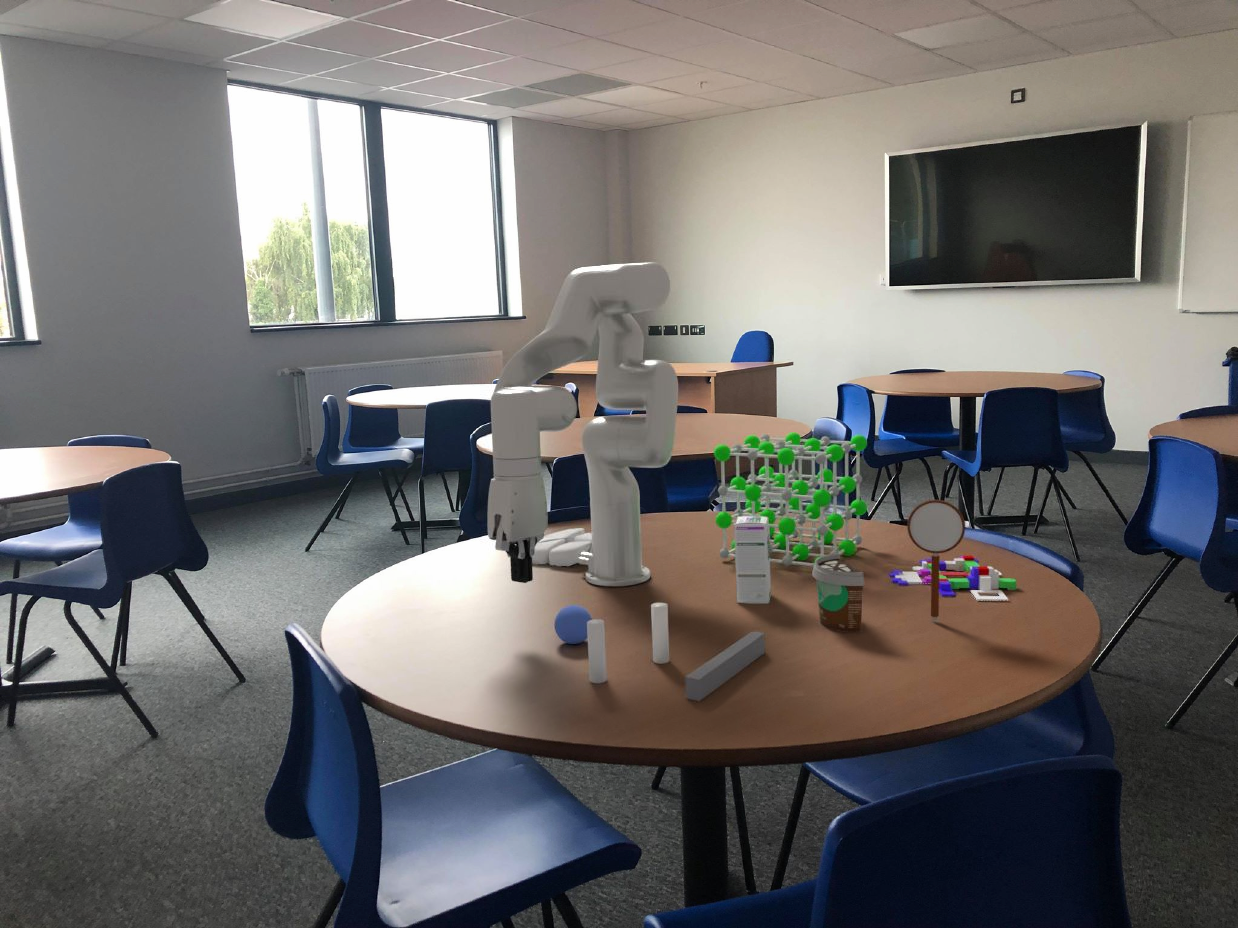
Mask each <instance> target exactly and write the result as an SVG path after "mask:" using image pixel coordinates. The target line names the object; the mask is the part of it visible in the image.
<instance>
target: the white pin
mask: <svg viewBox="0 0 1238 928" xmlns="http://www.w3.org/2000/svg"><path fill="white" fill-rule="evenodd" d="M668 608H669V607H668V603H665V602H654V603H651V604H650V609H651V610H650V611H651V612H650V613H651V614H650V615H651V637H652V638H651V639H652V661H653V663H655V664H661V665H663V664H668V663H669V662H670V645H669V644H670V643H669V637H670V636H669V616H668V615H669V611H668Z"/></svg>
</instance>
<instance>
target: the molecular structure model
mask: <svg viewBox="0 0 1238 928" xmlns="http://www.w3.org/2000/svg"><path fill="white" fill-rule="evenodd" d="M760 436H761V437H760V438H759V437H758V436H756V435H754V434H753V435H752V434H751V435H748V436H746V437H745V439H744V441H743V442H744V443H743V444H744V445H741V444H739V443H734V444H733V445H732V448H731V449H730V447H729V446H728V445H726V444H719V445H717V446H716V447H715V449H714V450H713V456H714V458H715V459H716V460H717V461H719V462H720V469H721V471H720V473H721V474H720V475H721V476H720V477H721V485H720V486H719V487H718V489H717V492H718V494H719V495H720V496H721V503H722V504H721V505H722V507H721V510H722V511H720V512H719V513H718V514H717V515H716V516H715V524H716V526H717V527H718V528H721V529H722V543H723V544H722V545H723V547H722V548H721V549H720V550H719V552H718V553H719V557H720V558H721V559H727V558H729V557H730V558H735V538H734V539H733V541H732V542H731V549H730V550H729V549H727V528H730V527H731V525H732V524H735V521H736V520H733V519H737V517H741V516H766V517H768V521H769V549H770V554H771V553H780V554H785V555H784V556H783V557H782V559H777V558H770V563H772V562H773V563H781V564H783V565H784V566H786V567H789V566H791V565H799V566H806V567H814V564H815V563H816V560H817V559H818V558H820V557H823V556H827V555H832V554H840V555H843V556H845V557H851V556H852V555H854V554H855V552H856V550H857V546H858V545H861V543H862V542H863V538H862V536H861V533H860V529H861V528H860V525H861V523H860V522H861V519H860V518H861V516H863V515H864V514H866V512H867V509H868V507H867V506H868V505H867V503H866V502H865V501H864V500H863V499H861V497H860V496H861V493H860V492H861V491H860V490H861V489H860V487H861V486H860V485H861V483H862V482H863V477H862V475H861V474H860V473H861V471H860V470H861V468H860V465H861V464H860V462H861V461H860V458H861V457H860V452H861V451H864V450H865V449H866V448H867V446H868V440H867V438H866V437H865V436H864V435H861V434H856V435H854V436H853V437H852V438H850V441H849V440H831V439H830V437H828V436H827V435H826V436H825V435H824V436H822V437H821V439H818V438H815V437H811V438H807V439H806V438H805V439H804V438H801V436H800V434H799V433H797V432H793V431H792V432H790V433H788V434H787V435H786V436H785V438H780V437H779V438H775V437H770V435H769V434H767V433H764V434H762V435H760ZM774 441H775V443H772V442H774ZM802 443H804V444H802ZM801 444H802V445H801ZM830 444H831V445H830ZM839 444H840V445H839ZM851 449H852V450H853V451H856V455H855V456H856V459H855V460H856V473H855V474H854V475H853V476H849V452H850V451H851ZM821 450H823V451H821ZM742 451H743V453H742ZM744 452H747V453H744ZM775 453H777V454H775ZM804 455H811V456H804ZM731 456H732V457H735V468H736V471H735V475H736V477H734V478H732V479H731V481H730V486H729V487H727V486H726V483H725V480H726V477H725V476H726V475H725V462H726V461H728V460H729V459H730V457H731ZM740 457H747V458H748V460H750V474H749V475H748V477H747V480H746V479H745V478H744V477H742V476H740ZM758 458H764V465H763V466H762V467H761V468H760V469H759V471H758V475H756V474H755V460H757V459H758ZM770 458H771V459H777V461H778V463H779V465H778V467H779V468H778V469H779V470H778V471H779V472H775V470H774V468H773V467H772V466H769V463H770V462H769V461H770V460H769V459H770ZM843 458H844V476H837V462H839V461H841V460H842V459H843ZM796 460H798V471H797V470H796ZM803 460H807V461H811V474H803ZM828 460H829V461H830V462H832V470H831V469H828ZM816 463H817V464H818V465H819V472H818V473H817V475H816V465H815V464H816ZM790 465H791V470H789V466H790ZM783 466H784V473H783ZM797 478H798V480H797ZM803 478H805V479H806V478H809V480H803ZM837 480H839V481H838V482H837ZM757 481H764V483H762V485H758V484H755V483H757ZM770 482H772V483H770ZM749 483H750V484H749ZM790 484H791V487H789V485H790ZM818 486H819V489H816V488H817V487H818ZM828 486H830V487H829V488H828ZM855 489H856V499H855V500H853V501H852V502H851V503H850V505H849V494H850V493H852V492H854V490H855ZM772 490H774V491H779V493H778V492H771V491H772ZM840 492H842V493H844V494H845V495H844V504H845V505H838V503H837V500H838V499H837V498H838V495H839V493H840ZM728 493H732V494H736V509H735V510H734V511H733V512H734V513H733V515H731V514H730V513H729V512H727V511H726V495H727V494H728ZM808 493H811V495H807V494H808ZM741 494H744V496H745V498H746V499H747V500H746V502H745V509H741ZM762 496H763V497H762ZM761 497H762V499H761ZM771 497H779V500H776V499H775V500H774V499H773V500H772V499H771ZM832 498H833V499H832ZM759 499H761V502H760V500H759ZM803 499H807V500H808V499H809V500H810V499H811V503H810V502H803ZM832 500H833V501H832ZM831 501H832V502H833V504H831ZM770 504H779V506H778V507H777V508H775V507H770ZM784 505H785V506H784ZM763 506H765V507H763ZM803 506H806V507H805V510H803ZM831 508H832V509H833V513H832V512H828V511H829V510H830V509H831ZM837 509H841V510H843V509H844V510H843V512H842V513H838V512H837ZM759 512H760V513H759ZM758 513H759V514H758ZM790 513H792V516H791V517H790ZM796 514H798V515H797V516H796ZM853 515H855V516H856V535H854V536H853V537H852V538H849V530H850V529H849V526H850V525H849V521H850V520H851V519H852V517H853ZM819 518H820V519H819ZM776 520H779V521H778V524H776V523H775V522H776ZM806 522H808V523H812V527H808V526H807V527H805V526H804V524H805V523H806ZM774 523H775V524H774ZM817 523H818V524H820V525H818V526H817V528H816V524H817ZM797 524H798V526H797ZM843 527H844V529H845V533H844V534H845V536H844V537H843V538H842V537H838V534H837V533H838V531H839V530H841V529H842V528H843ZM775 528H778V531H776V529H775ZM798 530H799V531H798ZM803 531H809V532H812V534H804V532H803ZM816 532H817V535H816ZM772 537H774V539H771V538H772ZM798 537H799V542H794V541H791V539H797V538H798ZM804 538H809V539H811V538H812V539H811V540H809V542H808V543H804V541H803V539H804ZM816 539H818V540H816ZM838 541H840V543H839V545H838ZM771 543H773V545H772V544H771ZM832 543H833V545H830V544H832ZM791 545H793V546H794V547H793V548H792V550H790V546H791ZM776 548H777V549H776ZM818 548H819V549H820V553H814V552H813V553H811V552H810V550H816V549H818ZM825 549H829V550H830V549H831V550H832V551H830V552H829V554H825ZM733 553H734V554H733ZM791 555H792V556H791ZM809 557H816V558H815V559H814V561H813V563H811V562H803V561H806V560H807V559H808V558H809ZM795 560H797V561H795Z"/></svg>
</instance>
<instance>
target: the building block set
mask: <svg viewBox="0 0 1238 928" xmlns="http://www.w3.org/2000/svg"><path fill="white" fill-rule="evenodd" d="M931 562H932V558H924V559H919V564H920V563H921V564H920V566H918V565H917V566H912V570H914V571H918V572H914V571H903V570H900V569H899V570H897V569H895V570H892V572H888V576H889V578H890V579H891V582H892V583H893V584H897V585H898V584H899V585H898V586H900V585H908V586H909V585H929V584H928V583H931V576H928V575H931ZM979 563H980V561H979V559H978V558H977V557H976V558H975V557H974V555H961V556H960V557H957V558H956V557H955V558H953V560H944V561H943V560H942V561H941V560H939V592H940V593H939V595H940V594H941V595H942V596H955V597H956V593H955V592H954V590H952V589H968V588H969V589H978V588H979V590H970V592H971V593H972V594H973V595H974V597H975V598H976V600H977V601H979V600H980V601H983V600H984V601H985V600H986V601H988V600H989V601H991V600H992V601H999V600H1000V601H1001V600H1003V601H1005V600H1007V601H1009V598H1008V597H1007V596H1006V595H1005V593H1004V592H1003V590H1001V589H1006V588H1009V589H1016V590H1017V580H1016V579H1015V578H1004V577H999V575H1002V576H1003V574H1002V573H1001V572H1000V571H999V570H998V569H994V567H993V566H981V565H980V564H979ZM921 565H922V566H921ZM947 570H952V571H947ZM940 571H946V572H940ZM955 571H964V572H955ZM919 576H925V577H924V578H921V577H919ZM946 576H967V577H951V578H948V577H946ZM891 577H894V578H891ZM919 583H920V584H919ZM923 583H924V584H923ZM925 583H927V584H925ZM992 588H993V589H995V588H998V590H991V589H992ZM969 589H968V590H969ZM971 593H970V594H971ZM978 593H997V594H998V595H999V596H998V595H997V594H996V595H981V594H978ZM972 594H971V595H972ZM941 595H940V596H941ZM973 595H972V596H973ZM942 596H941V597H942ZM974 597H973V598H974ZM975 598H974V599H975ZM976 600H975V601H976ZM977 601H976V602H977Z"/></svg>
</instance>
